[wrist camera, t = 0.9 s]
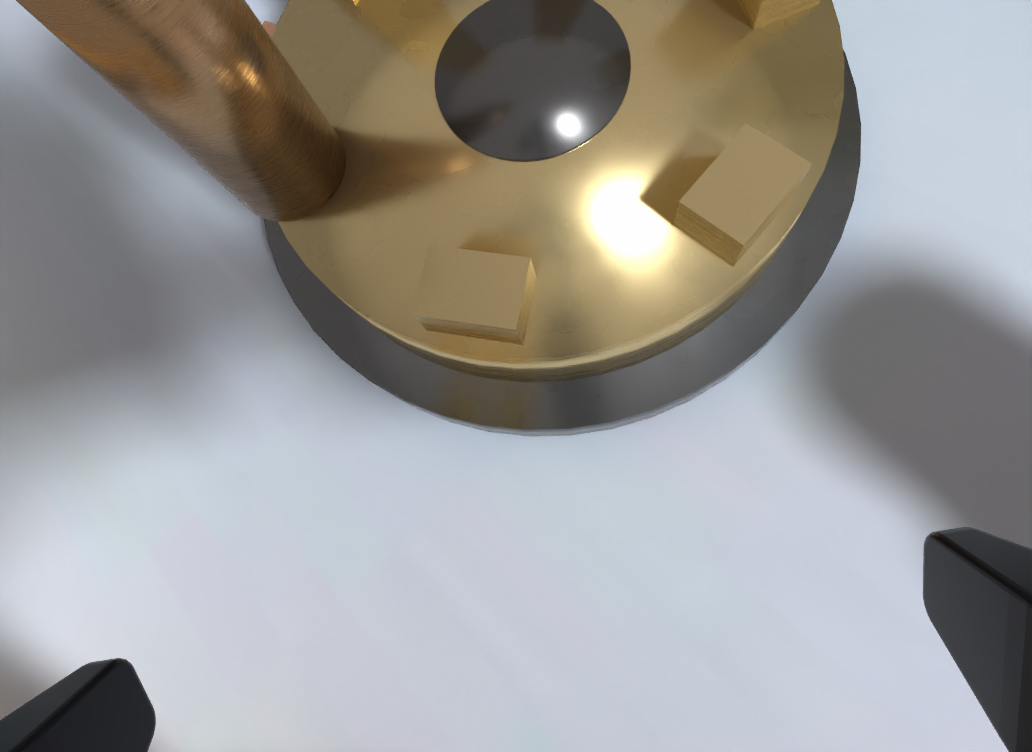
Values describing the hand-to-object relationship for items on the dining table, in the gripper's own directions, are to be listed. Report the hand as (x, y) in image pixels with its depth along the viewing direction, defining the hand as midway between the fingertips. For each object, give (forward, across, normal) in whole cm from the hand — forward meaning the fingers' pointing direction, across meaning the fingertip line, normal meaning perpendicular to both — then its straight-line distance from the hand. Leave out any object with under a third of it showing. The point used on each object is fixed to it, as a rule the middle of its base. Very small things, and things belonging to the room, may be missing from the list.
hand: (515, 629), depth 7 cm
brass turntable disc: (+18, -2, -5) cm, 19 cm away
